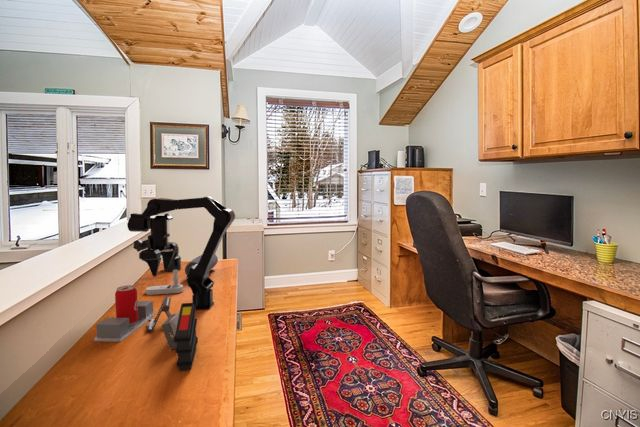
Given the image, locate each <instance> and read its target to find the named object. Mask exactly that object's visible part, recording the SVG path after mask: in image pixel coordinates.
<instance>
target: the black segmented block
mask: <svg viewBox="0 0 640 427" xmlns="http://www.w3.org/2000/svg"><path fill="white" fill-rule="evenodd" d="M196 310H197V309H196V305H194V303H192V302H183V303H181V306H180V310H179V311H180V313H179V318H178V323H177V328H176V333H175V339H174V342H175V343H176V342H177V348H176V349H175V354H176V355H177V361H176V364H175V365H176V367H178V369H177V370H178V371H181V372H182V371H189V370H191V369H192V367H193V364H194V360H195V356H196V352H197V344H198V341H199V338H198V336H197V325H198V324H197V323H198V319H197V318H196Z"/></svg>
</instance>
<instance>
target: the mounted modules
mask: <svg viewBox="0 0 640 427" xmlns="http://www.w3.org/2000/svg"><path fill="white" fill-rule="evenodd" d="M137 301H138V317H147V316H149V315H150V314H151V313H153V311H154V300H137ZM95 324H96V326H95V328H96V329H95V330H96V336H97V337H115V338H120V337H122V336H123V335H124V334H126V333H127V332H128V331H129V330H130V325H129V318H116V317H105V318H104V319H102V320H101V321H99V322H98V323H95Z"/></svg>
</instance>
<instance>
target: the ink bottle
mask: <svg viewBox="0 0 640 427" xmlns="http://www.w3.org/2000/svg"><path fill="white" fill-rule="evenodd" d="M179 254H180V250H179V246H178V249H177V250H176V252H175V254H174V256H173V258H172V260H171V263H170V265H169V267H168V269H167V270H165V269H164V265H163V264H162V270H163V271H164V272H173V270H177V271H180V270H181V269H182V257H181V255H179Z"/></svg>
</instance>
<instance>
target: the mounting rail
mask: <svg viewBox="0 0 640 427" xmlns="http://www.w3.org/2000/svg"><path fill="white" fill-rule="evenodd" d="M155 315H156V311H154V310H153V313H151V314H150V315H149V316H147V317H138V321H137V322H136V323H134V324H132V325H130V330H129V331H128V332H127V333H126V334H124V335H123V336H122V337H120V338H115V337H97V335H96V336H95V337H94V338H93V341H94V342H114V343H115V342H117V343H118V342H120V343H121V342H123V341H124V340H125V339H127V338H128V337H129V336H130V335H131V334H133V333H134V332H135V331H136V330H137V329H139V328H141V326H142V325H144V324H145V323H146V322H148V321H149V318H150V316H151V318H153V317H154V316H155Z"/></svg>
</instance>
